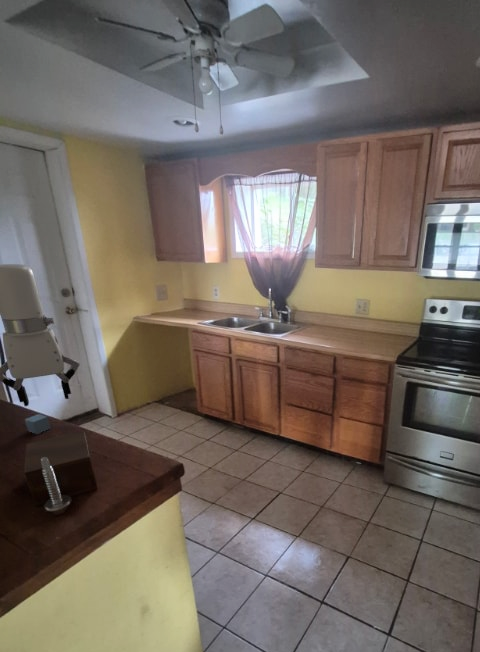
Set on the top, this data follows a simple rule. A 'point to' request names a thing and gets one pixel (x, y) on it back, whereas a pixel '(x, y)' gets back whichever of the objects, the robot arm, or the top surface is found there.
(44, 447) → the cabinet
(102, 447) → the top surface
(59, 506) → the screw
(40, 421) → the block
